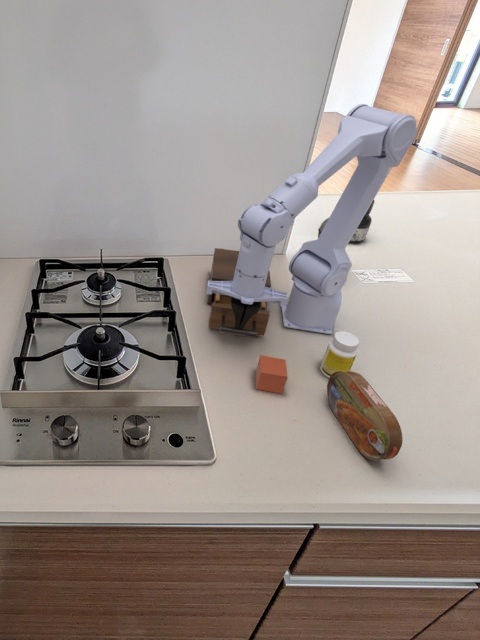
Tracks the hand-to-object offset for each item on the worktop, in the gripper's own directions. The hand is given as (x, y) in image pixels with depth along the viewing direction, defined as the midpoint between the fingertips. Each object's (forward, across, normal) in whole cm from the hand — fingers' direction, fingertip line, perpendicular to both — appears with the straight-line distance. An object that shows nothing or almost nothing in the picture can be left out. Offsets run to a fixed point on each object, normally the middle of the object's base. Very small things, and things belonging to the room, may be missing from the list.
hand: (237, 327), depth 87 cm
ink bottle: (+2, +31, +55) cm, 63 cm away
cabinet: (+4, 0, +19) cm, 19 cm away
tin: (+5, +19, -16) cm, 26 cm away
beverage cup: (+3, +21, +33) cm, 39 cm away
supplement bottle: (+4, +18, -3) cm, 19 cm away
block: (+4, +6, -9) cm, 12 cm away
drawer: (+3, 0, +7) cm, 8 cm away
